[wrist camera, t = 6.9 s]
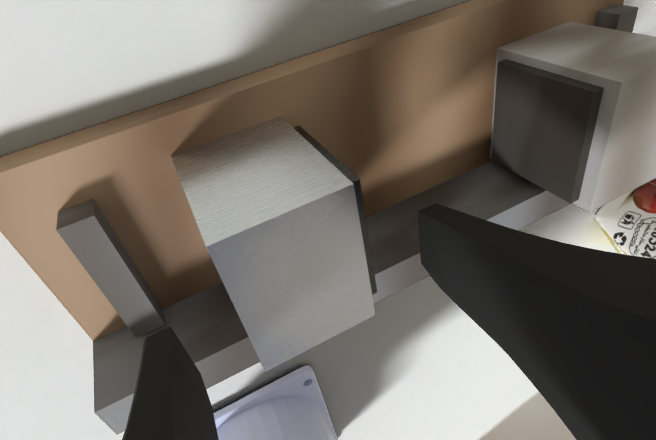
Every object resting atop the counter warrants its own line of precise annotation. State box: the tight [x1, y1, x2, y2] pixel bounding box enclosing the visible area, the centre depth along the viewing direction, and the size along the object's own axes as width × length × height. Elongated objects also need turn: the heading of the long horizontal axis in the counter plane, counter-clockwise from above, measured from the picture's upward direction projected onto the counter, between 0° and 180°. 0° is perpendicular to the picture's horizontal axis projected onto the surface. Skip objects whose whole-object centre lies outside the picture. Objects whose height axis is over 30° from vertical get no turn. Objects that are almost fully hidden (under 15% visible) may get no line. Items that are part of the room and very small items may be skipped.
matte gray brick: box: [171, 116, 377, 372], centre depth 13 cm, size 5×4×5 cm
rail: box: [0, 0, 656, 434], centre depth 15 cm, size 24×8×6 cm, turn 102°
